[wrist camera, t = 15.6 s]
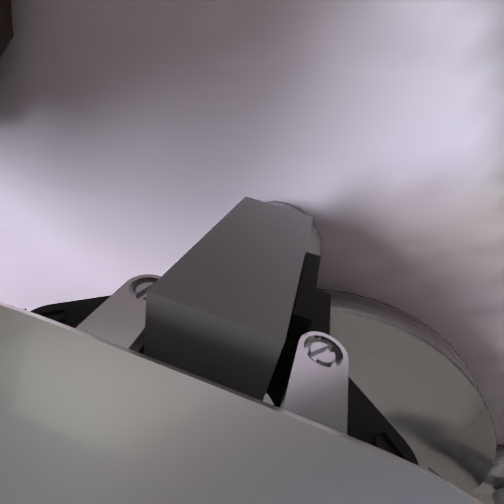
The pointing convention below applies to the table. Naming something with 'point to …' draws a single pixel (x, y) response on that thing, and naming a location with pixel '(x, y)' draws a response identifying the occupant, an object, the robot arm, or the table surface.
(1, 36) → the wooden barrel
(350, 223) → the table surface
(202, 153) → the table surface
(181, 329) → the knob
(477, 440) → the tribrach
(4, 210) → the table surface
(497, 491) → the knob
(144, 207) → the table surface
